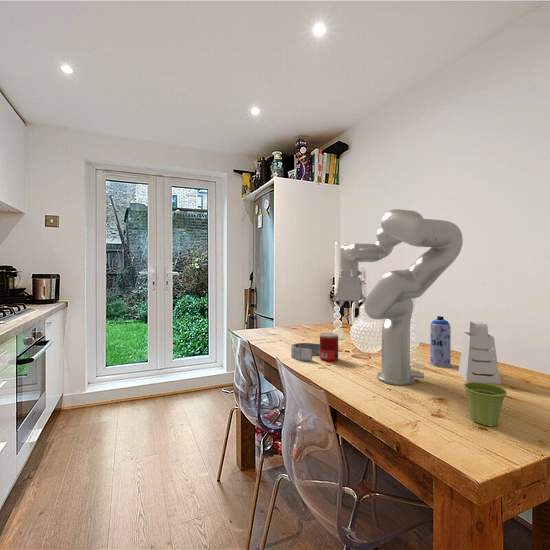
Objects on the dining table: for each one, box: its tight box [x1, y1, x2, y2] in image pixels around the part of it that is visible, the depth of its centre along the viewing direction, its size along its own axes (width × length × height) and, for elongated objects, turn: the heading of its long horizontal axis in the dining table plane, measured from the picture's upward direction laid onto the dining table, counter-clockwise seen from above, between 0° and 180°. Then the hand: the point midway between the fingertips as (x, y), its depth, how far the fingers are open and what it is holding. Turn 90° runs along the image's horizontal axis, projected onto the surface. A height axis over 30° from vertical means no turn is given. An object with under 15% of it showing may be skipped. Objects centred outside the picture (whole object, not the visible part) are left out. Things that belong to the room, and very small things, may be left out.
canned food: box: [319, 332, 339, 363], centre depth 145 cm, size 8×8×11 cm
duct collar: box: [290, 342, 320, 362], centre depth 150 cm, size 11×13×5 cm
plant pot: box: [463, 382, 508, 426], centre depth 86 cm, size 9×9×9 cm
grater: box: [457, 321, 501, 385], centre depth 120 cm, size 10×10×20 cm
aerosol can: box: [429, 315, 452, 368], centre depth 137 cm, size 8×8×20 cm
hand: (349, 316), depth 141 cm, fingers open, 5 cm apart
